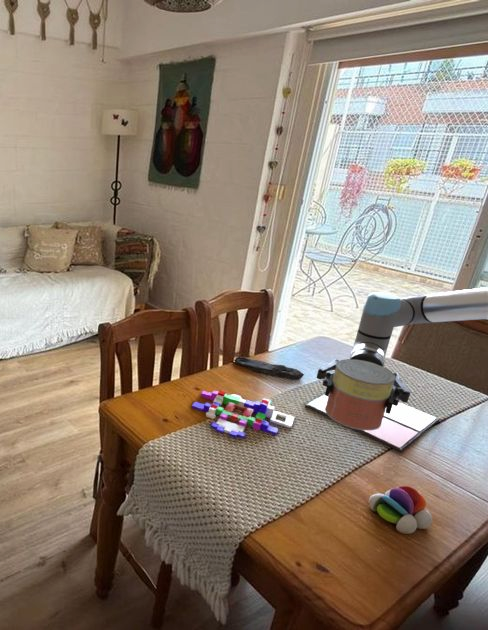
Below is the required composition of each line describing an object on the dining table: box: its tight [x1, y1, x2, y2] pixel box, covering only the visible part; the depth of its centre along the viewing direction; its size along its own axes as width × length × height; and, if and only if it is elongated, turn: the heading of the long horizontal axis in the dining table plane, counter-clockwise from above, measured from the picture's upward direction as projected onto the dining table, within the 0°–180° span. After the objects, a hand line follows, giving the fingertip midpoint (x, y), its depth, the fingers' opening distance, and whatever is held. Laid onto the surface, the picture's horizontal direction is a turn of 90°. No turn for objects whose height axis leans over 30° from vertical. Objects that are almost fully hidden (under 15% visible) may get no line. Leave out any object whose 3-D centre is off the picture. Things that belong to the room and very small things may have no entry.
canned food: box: [325, 358, 396, 430], centre depth 100 cm, size 11×11×12 cm
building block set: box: [191, 390, 295, 439], centre depth 120 cm, size 25×20×4 cm
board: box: [304, 393, 440, 453], centre depth 122 cm, size 24×24×1 cm
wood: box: [230, 356, 305, 381], centre depth 145 cm, size 22×7×3 cm, turn 55°
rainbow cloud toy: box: [368, 485, 433, 535], centre depth 87 cm, size 8×10×7 cm
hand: (357, 399), depth 97 cm, fingers closed on canned food, 11 cm apart
